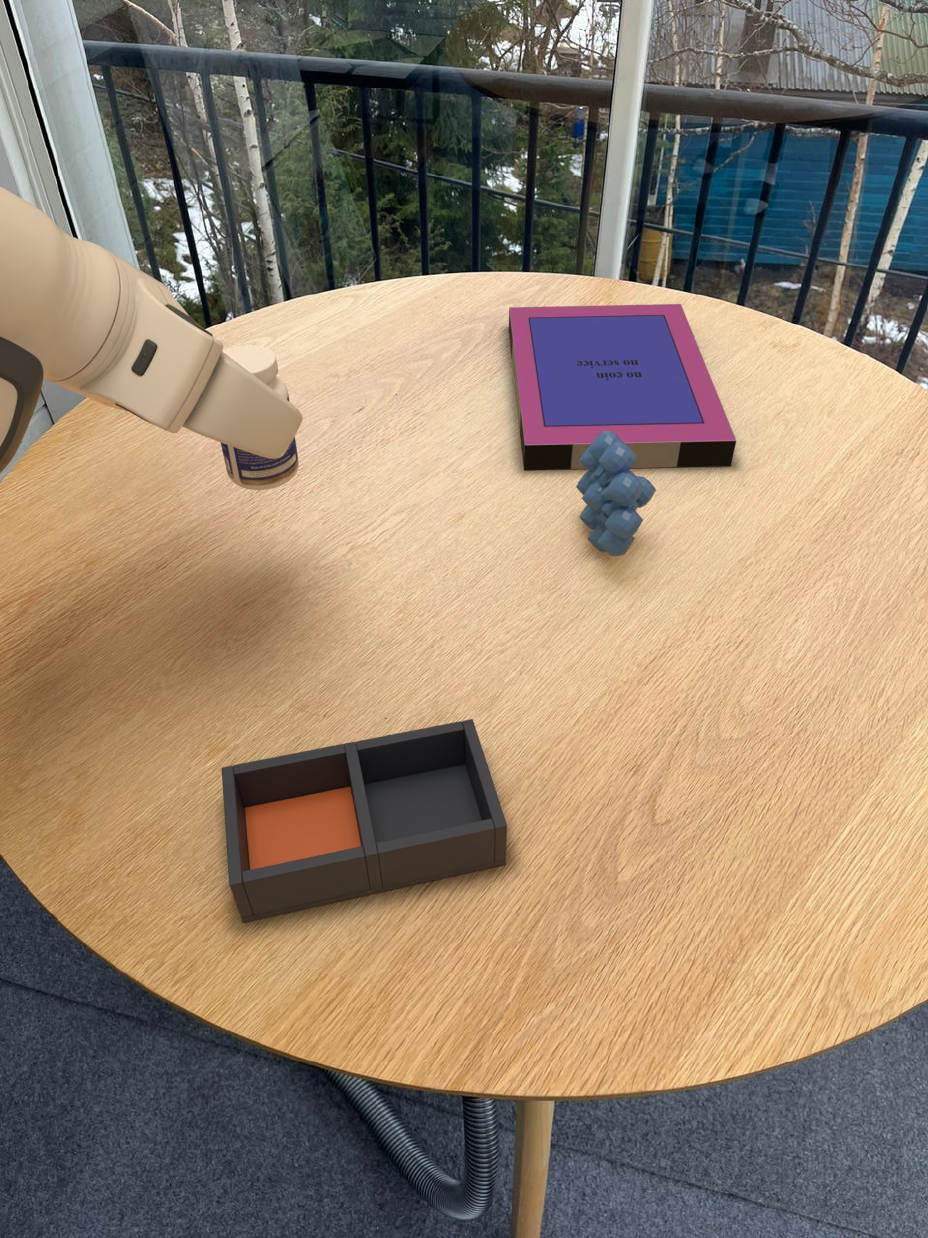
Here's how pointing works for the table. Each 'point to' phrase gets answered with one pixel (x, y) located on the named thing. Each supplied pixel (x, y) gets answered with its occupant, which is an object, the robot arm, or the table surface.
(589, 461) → the grapes
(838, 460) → the table surface
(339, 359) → the table surface
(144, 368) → the robot arm
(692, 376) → the book
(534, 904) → the table surface
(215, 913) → the table surface
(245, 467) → the pill bottle
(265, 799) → the tray
